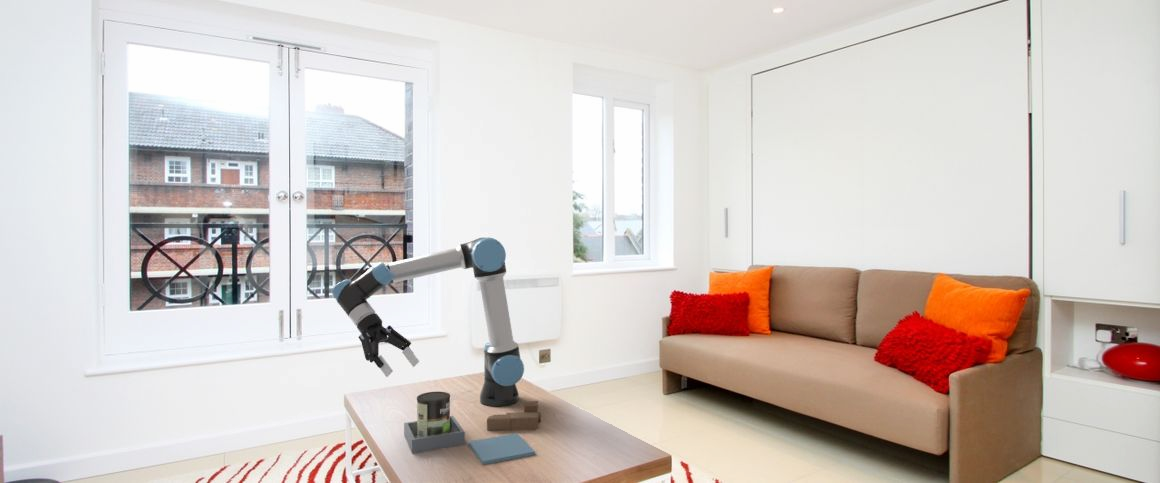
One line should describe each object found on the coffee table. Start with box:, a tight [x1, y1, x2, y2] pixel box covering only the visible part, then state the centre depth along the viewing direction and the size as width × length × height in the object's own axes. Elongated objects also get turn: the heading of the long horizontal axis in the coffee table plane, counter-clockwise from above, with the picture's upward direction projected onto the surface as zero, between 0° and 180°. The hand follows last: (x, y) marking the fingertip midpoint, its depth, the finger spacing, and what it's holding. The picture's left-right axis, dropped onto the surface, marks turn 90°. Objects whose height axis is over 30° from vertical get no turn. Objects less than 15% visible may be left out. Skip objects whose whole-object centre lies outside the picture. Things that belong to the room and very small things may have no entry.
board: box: [468, 432, 536, 466], centre depth 166 cm, size 16×16×1 cm
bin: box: [403, 415, 466, 454], centre depth 174 cm, size 16×16×4 cm
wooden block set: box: [486, 400, 542, 431], centre depth 190 cm, size 17×6×18 cm
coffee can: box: [416, 391, 451, 438], centre depth 174 cm, size 10×10×14 cm
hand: (403, 369), depth 177 cm, fingers open, 13 cm apart
